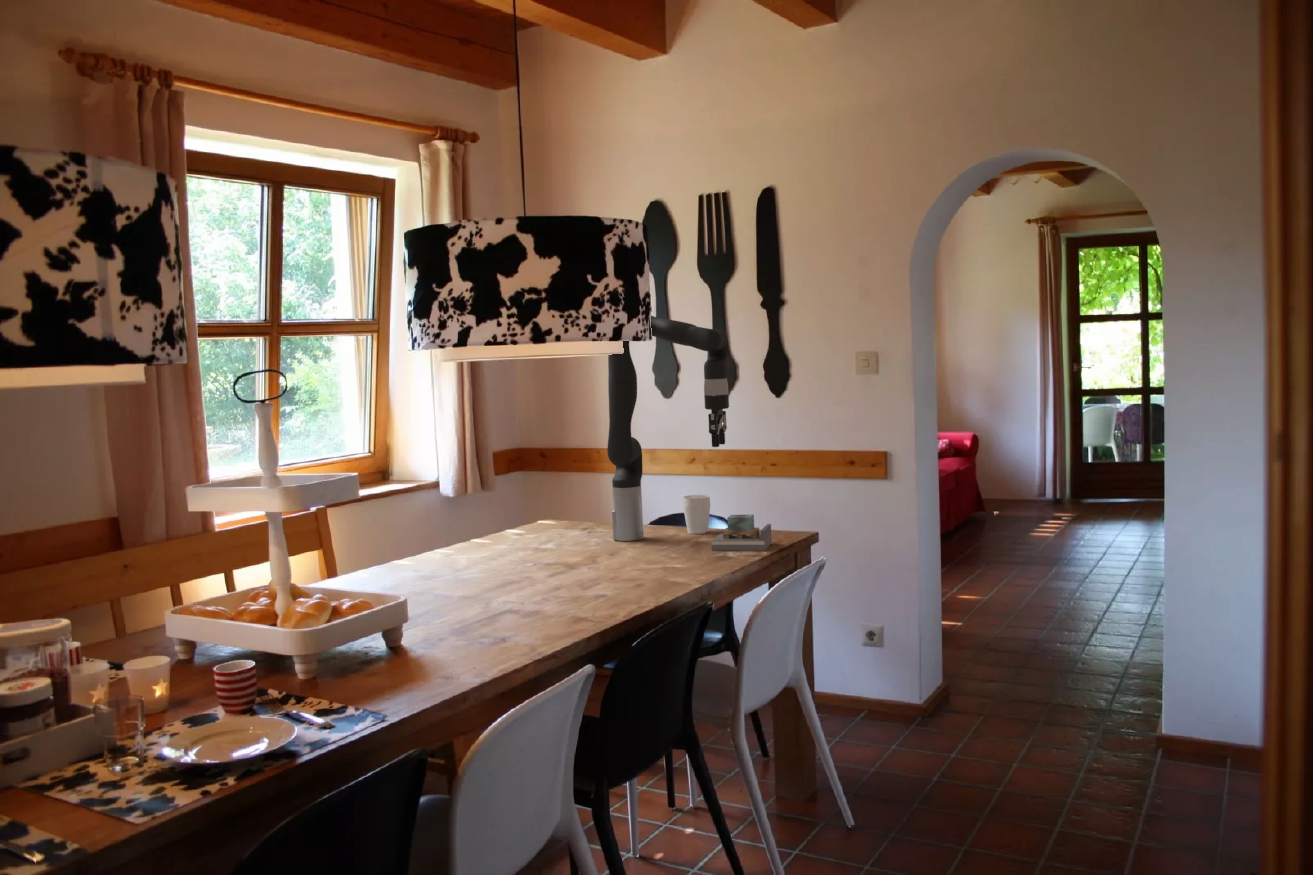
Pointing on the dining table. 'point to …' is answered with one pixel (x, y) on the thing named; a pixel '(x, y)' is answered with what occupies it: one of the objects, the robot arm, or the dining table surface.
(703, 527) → the cup
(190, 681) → the dining table surface
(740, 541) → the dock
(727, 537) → the pallet
